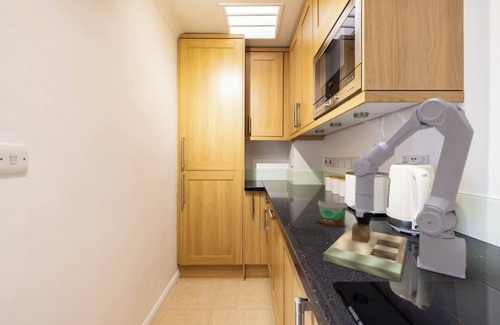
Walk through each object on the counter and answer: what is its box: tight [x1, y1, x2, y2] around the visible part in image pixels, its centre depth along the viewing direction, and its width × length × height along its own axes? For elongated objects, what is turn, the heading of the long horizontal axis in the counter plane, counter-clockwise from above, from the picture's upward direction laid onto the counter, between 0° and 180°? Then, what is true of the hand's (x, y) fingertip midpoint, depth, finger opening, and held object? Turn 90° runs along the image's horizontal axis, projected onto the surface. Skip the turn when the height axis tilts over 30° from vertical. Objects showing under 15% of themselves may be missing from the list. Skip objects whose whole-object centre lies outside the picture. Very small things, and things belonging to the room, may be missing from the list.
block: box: [351, 222, 371, 243], centre depth 76 cm, size 4×4×4 cm
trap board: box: [322, 227, 408, 283], centre depth 71 cm, size 18×30×2 cm, turn 143°
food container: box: [317, 199, 348, 228], centre depth 98 cm, size 12×6×10 cm, turn 62°
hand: (363, 233), depth 79 cm, fingers closed
